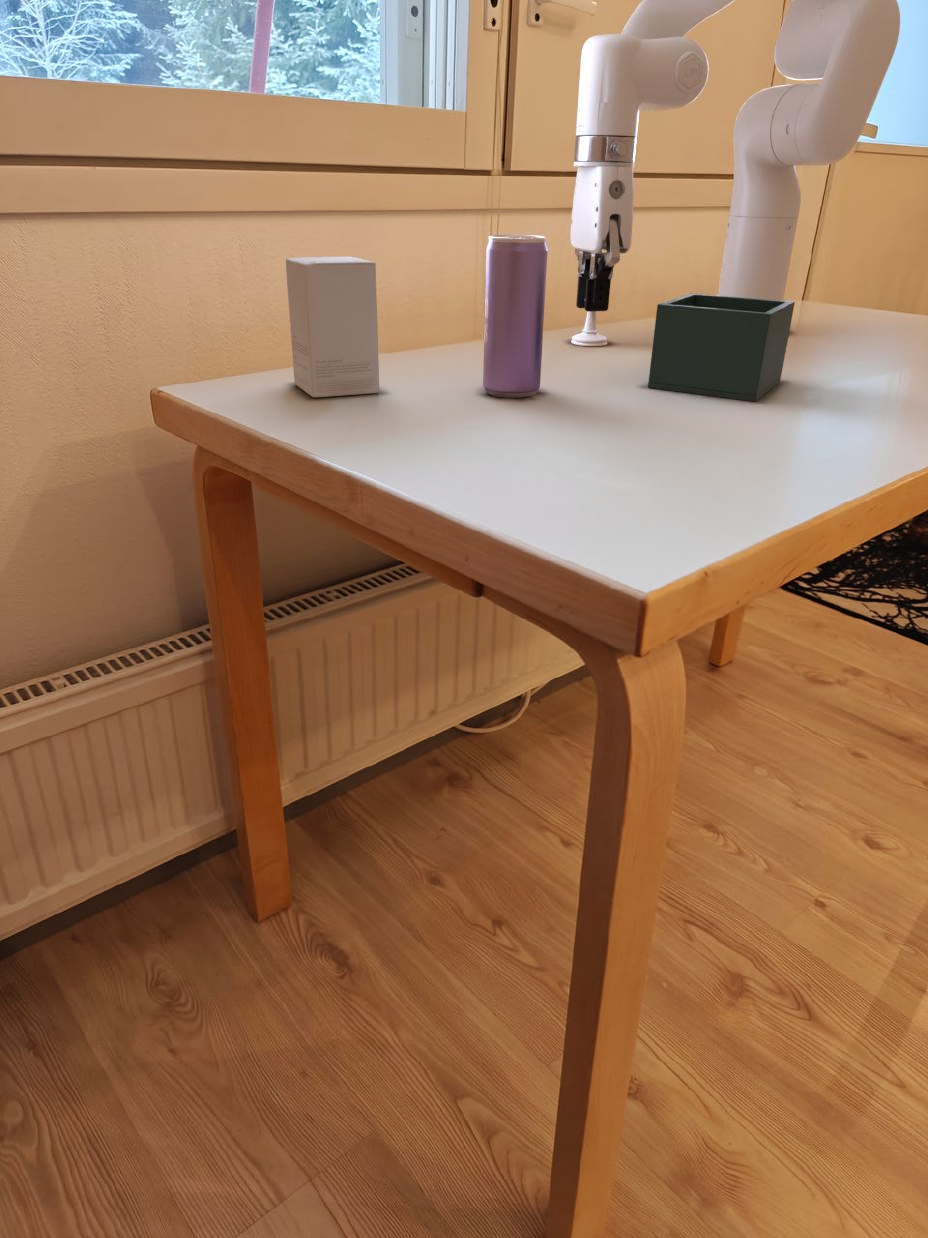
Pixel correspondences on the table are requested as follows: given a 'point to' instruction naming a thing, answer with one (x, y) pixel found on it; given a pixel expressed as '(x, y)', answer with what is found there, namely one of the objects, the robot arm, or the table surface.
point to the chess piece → (590, 333)
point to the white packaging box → (333, 325)
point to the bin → (720, 345)
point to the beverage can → (514, 314)
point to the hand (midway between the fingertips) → (591, 308)
